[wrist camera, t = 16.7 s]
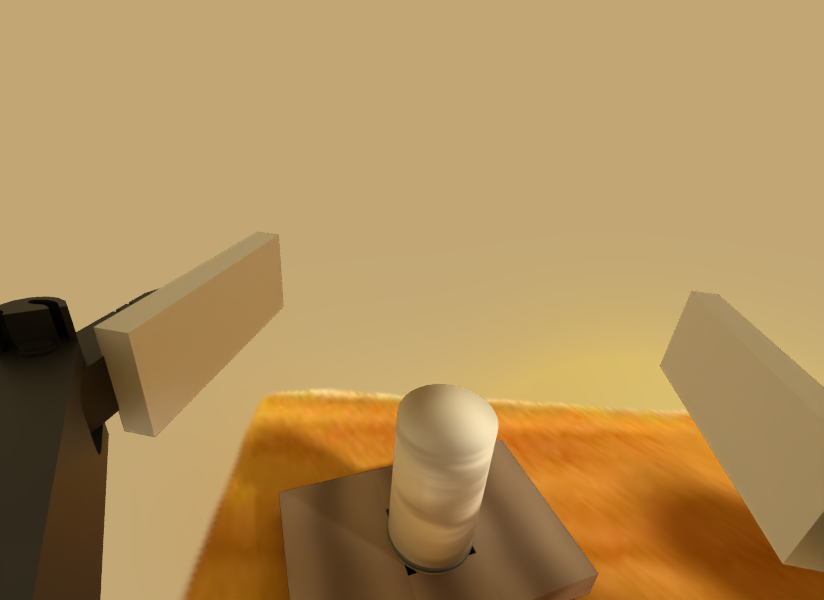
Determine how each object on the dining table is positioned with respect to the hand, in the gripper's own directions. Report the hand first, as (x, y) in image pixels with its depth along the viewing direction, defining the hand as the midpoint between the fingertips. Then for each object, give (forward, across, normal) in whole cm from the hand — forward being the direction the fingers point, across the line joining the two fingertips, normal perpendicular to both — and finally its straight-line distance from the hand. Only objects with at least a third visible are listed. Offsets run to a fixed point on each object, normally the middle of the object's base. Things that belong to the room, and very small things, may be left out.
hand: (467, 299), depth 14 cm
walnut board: (+10, 0, -28) cm, 30 cm away
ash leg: (+10, 0, -28) cm, 29 cm away
